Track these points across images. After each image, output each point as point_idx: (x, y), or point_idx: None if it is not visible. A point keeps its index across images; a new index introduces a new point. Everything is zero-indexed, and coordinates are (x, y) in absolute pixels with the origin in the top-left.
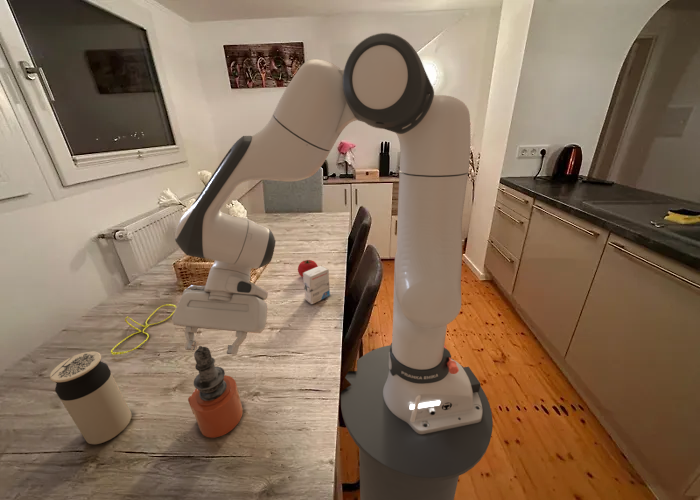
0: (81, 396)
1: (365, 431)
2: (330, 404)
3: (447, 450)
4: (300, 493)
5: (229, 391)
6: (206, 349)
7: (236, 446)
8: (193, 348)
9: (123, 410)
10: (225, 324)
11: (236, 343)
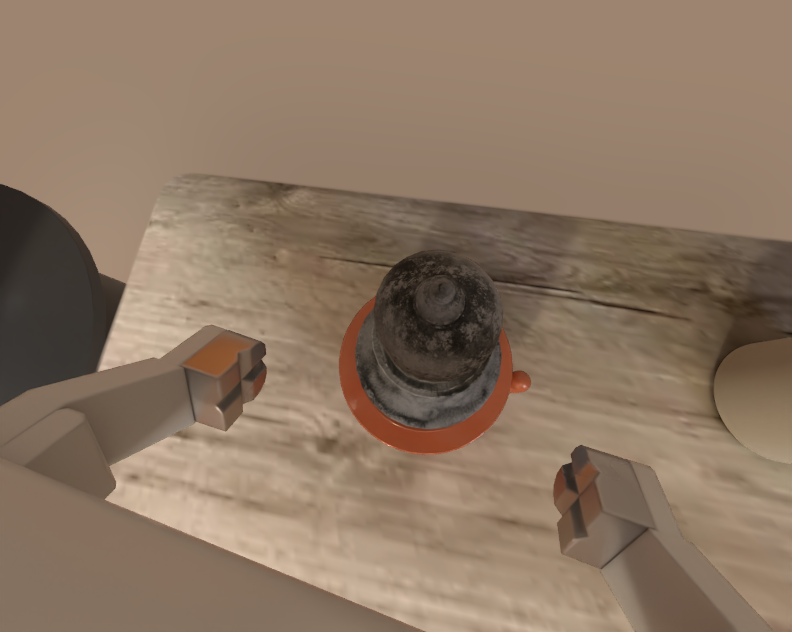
0: None
1: (56, 281)
2: (109, 363)
3: None
4: (218, 176)
5: None
6: (391, 312)
7: (361, 284)
8: (574, 477)
9: (768, 402)
10: (55, 592)
11: (131, 364)
